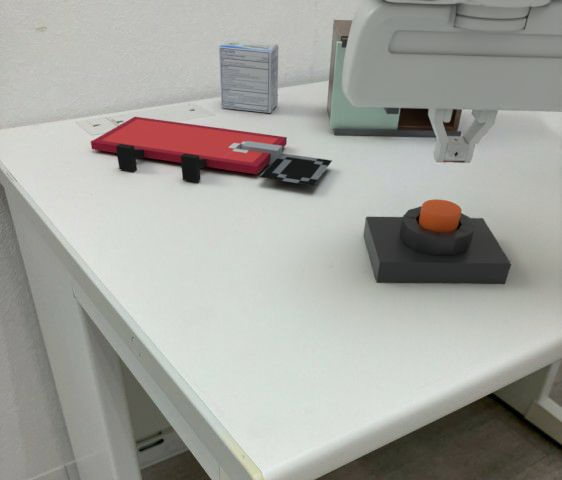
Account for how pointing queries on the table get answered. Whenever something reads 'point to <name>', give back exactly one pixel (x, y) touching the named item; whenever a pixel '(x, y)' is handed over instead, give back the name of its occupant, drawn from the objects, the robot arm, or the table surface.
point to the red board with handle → (207, 150)
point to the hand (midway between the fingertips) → (451, 160)
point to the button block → (434, 251)
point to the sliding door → (354, 116)
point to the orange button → (439, 215)
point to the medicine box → (249, 75)
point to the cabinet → (409, 118)
